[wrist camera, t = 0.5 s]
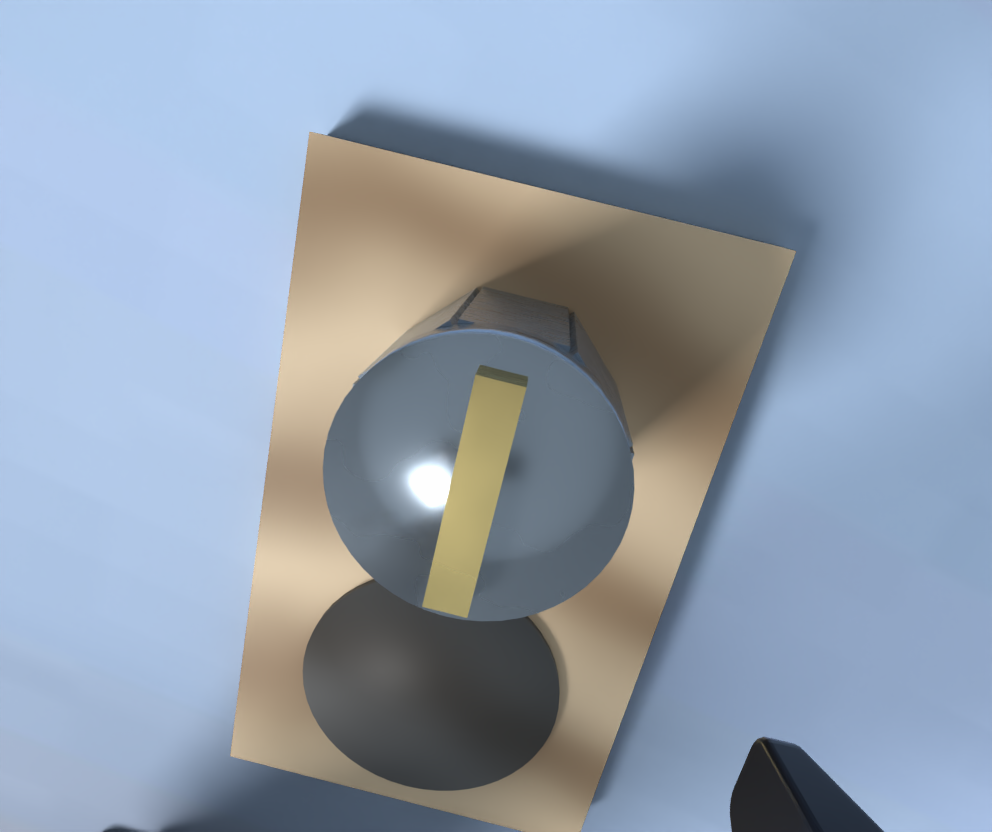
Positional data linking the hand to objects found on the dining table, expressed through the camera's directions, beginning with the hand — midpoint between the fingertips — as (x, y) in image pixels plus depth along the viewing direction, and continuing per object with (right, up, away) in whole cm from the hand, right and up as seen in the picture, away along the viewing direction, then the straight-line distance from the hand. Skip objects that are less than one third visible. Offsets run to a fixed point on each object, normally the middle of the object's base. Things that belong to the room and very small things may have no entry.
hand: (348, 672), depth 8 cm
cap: (+2, +3, +11) cm, 11 cm away
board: (+1, -1, +13) cm, 13 cm away
